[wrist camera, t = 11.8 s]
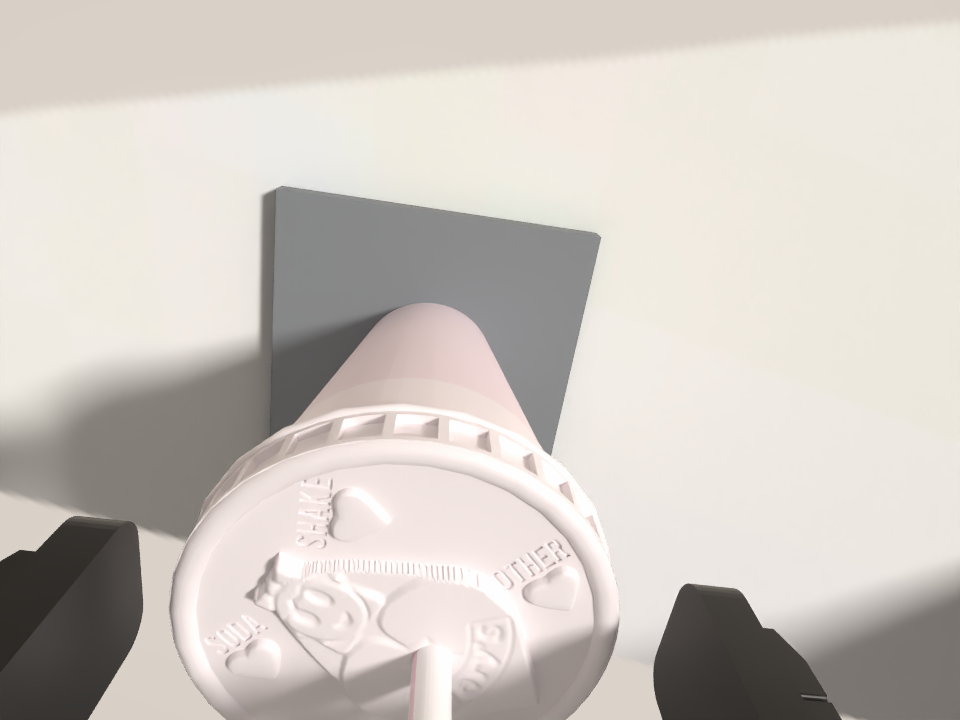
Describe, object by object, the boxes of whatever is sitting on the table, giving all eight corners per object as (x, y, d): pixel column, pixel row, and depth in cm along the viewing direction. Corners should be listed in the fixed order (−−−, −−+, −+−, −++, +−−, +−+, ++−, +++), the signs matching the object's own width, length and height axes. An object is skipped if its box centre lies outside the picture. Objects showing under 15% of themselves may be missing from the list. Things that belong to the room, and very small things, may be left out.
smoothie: (461, 492, 19) (477, 1295, 6) (274, 396, 18) (-218, 1198, 5) (582, 330, 17) (969, 1014, 4) (383, 206, 16) (53, 690, 3)
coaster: (596, 233, 17) (601, 237, 16) (538, 489, 20) (540, 500, 19) (282, 185, 16) (276, 189, 15) (274, 461, 19) (269, 472, 19)
